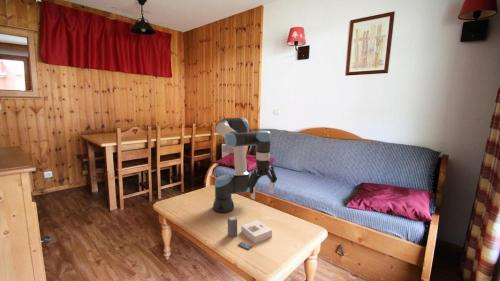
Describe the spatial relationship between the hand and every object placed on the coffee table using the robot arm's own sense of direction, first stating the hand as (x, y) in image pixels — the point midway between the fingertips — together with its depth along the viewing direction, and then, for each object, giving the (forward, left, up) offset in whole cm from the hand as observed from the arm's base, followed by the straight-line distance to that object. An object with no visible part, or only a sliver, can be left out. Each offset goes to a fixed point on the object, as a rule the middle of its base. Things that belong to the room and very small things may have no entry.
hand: (262, 195), depth 138 cm
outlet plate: (-2, -3, -24) cm, 24 cm away
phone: (+4, -15, -24) cm, 29 cm away
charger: (-9, -15, -24) cm, 29 cm away
